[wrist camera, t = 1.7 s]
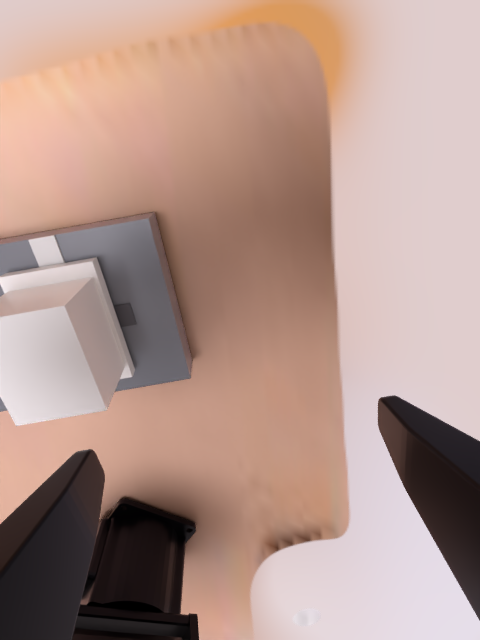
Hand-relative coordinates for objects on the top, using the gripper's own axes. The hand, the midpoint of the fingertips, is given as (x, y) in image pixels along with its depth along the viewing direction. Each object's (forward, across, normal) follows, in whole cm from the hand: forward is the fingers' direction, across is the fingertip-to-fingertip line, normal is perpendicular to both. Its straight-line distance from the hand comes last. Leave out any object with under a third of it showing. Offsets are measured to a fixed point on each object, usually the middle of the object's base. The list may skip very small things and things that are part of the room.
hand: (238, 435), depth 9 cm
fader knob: (+10, +8, 0) cm, 13 cm away
